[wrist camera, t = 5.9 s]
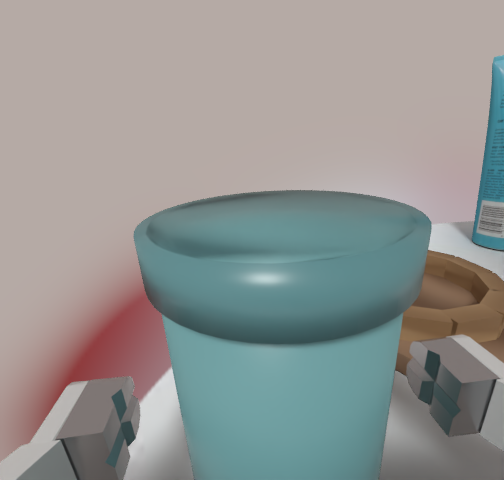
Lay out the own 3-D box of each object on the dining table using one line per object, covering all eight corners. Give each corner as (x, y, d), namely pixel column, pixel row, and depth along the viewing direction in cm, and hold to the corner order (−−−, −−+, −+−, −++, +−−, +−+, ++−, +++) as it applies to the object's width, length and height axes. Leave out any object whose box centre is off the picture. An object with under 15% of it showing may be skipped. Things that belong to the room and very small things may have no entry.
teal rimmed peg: (282, 421, 13) (276, 185, 9) (403, 540, 9) (476, 205, 5) (175, 520, 10) (100, 218, 6) (288, 776, 6) (268, 337, 2)
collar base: (365, 258, 29) (367, 233, 29) (534, 306, 20) (545, 271, 19) (281, 306, 22) (280, 274, 21) (488, 421, 12) (504, 372, 11)
